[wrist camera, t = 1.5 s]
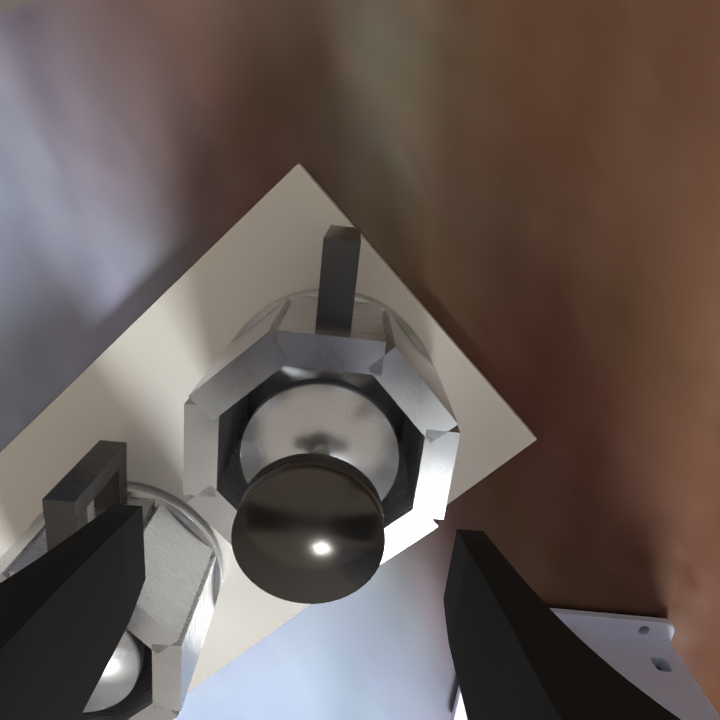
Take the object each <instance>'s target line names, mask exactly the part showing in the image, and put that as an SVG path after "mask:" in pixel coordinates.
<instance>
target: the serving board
mask: <svg viewBox="0 0 720 720" xmlns="http://www.w3.org/2000/svg"><path fill="white" fill-rule="evenodd" d="M330 225H338V226H346V227H355V226H354V225H353V223H352V222H351V221H350V220H349V219H348V218H347V216H346V215H345V214H344V213H343V212H342V211H341V209H340V208H339V207H338V206H337V205H336V204H335V202H334V201H333V200H332V199H331V198H330V197H329V196H328V194H327V193H326V192H325V191H324V190H323V189H322V187H321V186H320V185H319V184H318V183H317V182H316V180H315V179H314V178H313V177H312V176H311V175H310V173H309V172H308V171H307V170H306V169H305V168H304V167H303V165H302V164H299V163H298V164H297V165H296V166H295V167H294V168H293V169H292V170H291V171H290V172H289V173H288V174H287V175H286V176H285V177H284V178H283V179H282V180H281V181H280V182H279V183H277V184H276V185H275V186H274V187H273V188H272V189H271V190H270V191H269V192H268V193H267V194H266V195H265V196H264V197H263V198H262V199H261V200H260V201H259V202H258V203H257V204H256V205H255V206H254V207H253V208H252V209H251V210H250V211H249V212H248V213H247V214H246V215H245V216H243V217H242V218H241V219H240V220H239V221H238V222H237V223H236V224H235V225H234V226H233V227H232V228H231V229H230V230H229V231H228V232H227V233H226V234H225V235H224V236H223V237H222V238H221V239H220V240H219V241H218V242H217V243H216V244H215V245H214V246H213V247H212V248H210V249H209V250H208V251H207V252H206V253H205V254H204V255H203V256H202V257H201V258H200V259H199V260H198V261H197V262H196V263H195V264H194V265H193V266H192V267H191V268H190V269H189V270H188V271H187V272H186V273H185V274H184V275H183V276H182V277H181V278H180V279H179V280H178V281H176V282H175V283H174V284H173V285H172V286H171V287H170V288H169V289H168V290H167V291H166V292H165V293H164V294H163V295H162V296H161V297H160V298H159V299H158V300H157V301H156V302H155V303H154V304H153V305H152V306H151V307H150V308H149V309H148V310H147V311H146V312H145V313H144V314H142V315H141V316H140V317H139V318H138V319H137V320H136V321H135V322H134V323H133V324H132V325H131V326H130V327H129V328H128V329H127V330H126V331H125V332H124V333H123V334H122V335H121V336H120V337H119V338H118V339H117V340H116V341H115V342H114V343H113V344H112V345H111V346H110V347H108V348H107V349H106V350H105V351H104V352H103V353H102V354H101V355H100V356H99V357H98V358H97V359H96V360H95V361H94V362H93V363H92V364H91V365H90V366H89V367H88V368H87V369H86V370H85V371H84V372H83V373H82V374H81V375H80V376H79V377H78V378H77V379H76V380H74V381H73V382H72V383H71V384H70V385H69V386H68V387H67V388H66V389H65V390H64V391H63V392H62V393H61V394H60V395H59V396H58V397H57V398H56V399H55V400H54V401H53V402H52V403H51V404H50V405H49V406H48V407H47V408H46V409H45V410H44V411H43V412H42V413H40V414H39V415H38V416H37V417H36V418H35V419H34V420H33V421H32V422H31V423H30V424H29V425H28V426H27V427H26V428H25V429H24V430H23V431H22V432H21V433H20V434H19V435H18V436H17V437H16V438H15V439H14V440H13V441H12V442H11V443H10V444H9V445H8V446H6V447H5V448H4V449H3V450H2V451H1V452H0V558H1V557H2V555H3V554H4V553H5V552H6V551H7V550H8V549H9V548H10V547H11V546H12V545H13V544H14V543H15V542H16V541H17V539H18V538H19V537H20V536H21V535H22V534H23V533H24V532H25V531H27V530H28V528H29V526H30V525H31V524H32V522H33V521H34V520H35V519H36V517H37V516H38V515H39V514H40V513H41V512H42V511H43V505H42V499H43V498H44V497H45V496H46V495H47V494H48V493H49V492H50V491H51V490H52V489H53V488H54V487H55V486H56V485H57V484H58V482H59V481H60V480H61V479H62V478H63V477H64V476H65V475H66V474H67V473H68V472H69V471H70V470H71V469H72V468H73V467H74V466H75V465H76V464H77V463H78V462H79V461H80V460H81V459H82V458H83V457H84V456H85V455H86V454H87V453H88V452H89V451H90V450H91V449H92V448H93V447H94V446H95V445H96V444H97V443H98V442H99V441H100V440H106V441H116V442H126V443H127V459H126V462H127V481H132V482H139V483H143V484H146V485H150V486H153V487H156V488H158V489H161V490H164V491H166V492H168V493H170V494H172V495H174V496H175V497H177V498H179V499H180V500H182V501H183V502H185V503H186V504H188V503H187V501H188V499H189V497H190V495H183V458H184V404H185V402H186V401H187V400H188V398H189V396H188V395H189V394H190V393H191V392H192V390H193V389H194V388H195V386H196V385H197V384H198V382H199V381H200V380H201V379H202V377H203V376H204V375H205V373H206V372H207V371H208V370H209V368H210V367H211V366H212V364H213V363H214V362H215V360H216V359H217V358H218V357H219V355H220V354H221V353H222V351H223V350H224V349H225V348H226V347H227V346H228V345H229V344H230V343H231V342H232V340H233V339H234V337H235V336H236V335H237V333H238V332H239V331H240V330H241V328H242V327H243V326H244V325H245V324H246V322H247V321H248V320H249V319H251V318H252V317H253V316H254V315H255V314H256V313H257V312H258V311H260V310H261V309H263V308H264V307H266V306H267V305H268V304H270V303H272V302H274V301H276V300H278V299H280V298H282V297H285V296H288V295H291V294H293V293H297V292H301V291H306V290H312V289H319V282H320V271H321V259H322V248H323V238H324V236H325V234H326V232H327V231H328V229H329V227H330ZM355 228H356V227H355ZM355 292H356V293H359V294H363V295H366V296H369V297H371V298H373V299H375V300H377V301H379V302H382V303H383V304H385V305H386V306H388V307H389V308H391V309H393V310H394V311H395V312H397V313H398V314H399V315H400V316H401V317H402V318H404V319H405V320H406V321H407V322H408V323H409V325H410V326H411V327H412V328H413V329H414V330H415V331H416V333H417V334H418V336H419V337H420V339H421V340H422V342H423V344H424V346H425V348H426V350H427V352H428V354H429V356H430V359H431V362H432V365H433V366H434V367H435V369H436V370H437V372H438V375H439V377H440V380H441V382H442V385H443V387H444V390H445V392H446V395H447V397H448V400H449V402H450V405H451V407H452V410H453V412H454V415H455V417H456V420H457V422H458V428H459V431H460V438H459V443H458V448H457V453H456V458H455V463H454V468H453V474H452V479H451V484H450V489H449V494H448V499H447V504H446V505H448V504H449V503H450V502H452V501H453V500H454V499H456V498H457V497H459V496H460V495H461V494H463V493H464V492H465V491H467V490H468V489H470V488H471V487H472V486H474V485H475V484H476V483H478V482H479V481H481V480H482V479H483V478H485V477H486V476H487V475H489V474H490V473H492V472H493V471H494V470H496V469H497V468H499V467H500V466H501V465H503V464H504V463H505V462H507V461H508V460H510V459H511V458H512V457H514V456H515V455H516V454H518V453H519V452H521V451H522V450H523V449H525V448H526V447H527V446H529V445H530V444H532V443H533V442H534V441H536V440H537V439H536V437H535V436H534V435H533V433H532V432H531V430H530V429H529V427H528V426H527V425H526V424H525V423H524V422H523V420H522V419H521V418H520V417H519V416H518V415H517V414H516V412H515V411H514V410H513V409H512V408H511V407H510V405H509V404H508V403H507V402H506V401H505V400H504V398H503V397H502V396H501V395H500V394H499V393H498V391H497V390H496V389H495V388H494V387H493V386H492V385H491V383H490V382H489V381H488V380H487V379H486V378H485V376H484V375H483V374H482V373H481V372H480V371H479V369H478V368H477V367H476V366H475V365H474V364H473V362H472V361H471V360H470V359H469V358H468V357H467V356H466V354H465V353H464V352H463V351H462V350H461V349H460V347H459V346H458V345H457V344H456V343H455V342H454V340H453V339H452V338H451V337H450V336H449V335H448V333H447V332H446V331H445V330H444V329H443V328H442V327H441V325H440V324H439V323H438V322H437V321H436V320H435V318H434V317H433V316H432V315H431V314H430V313H429V311H428V310H427V309H426V308H425V307H424V306H423V305H422V303H421V302H420V301H419V300H418V299H417V298H416V296H415V295H414V294H413V293H412V292H411V291H410V289H409V288H408V287H407V286H406V285H405V284H404V282H403V281H402V280H401V279H400V278H399V277H398V276H397V274H396V273H395V272H394V271H393V270H392V269H391V267H390V266H389V265H388V264H387V263H386V262H385V260H384V259H383V258H382V257H381V256H380V255H379V253H378V252H377V251H376V250H375V249H374V248H373V247H372V245H371V244H370V243H369V242H368V241H367V240H366V238H365V237H364V236H363V235H362V234H361V247H360V255H359V264H358V273H357V281H356V290H355ZM188 505H189V504H188ZM189 506H190V505H189ZM190 507H191V506H190ZM191 508H192V507H191ZM192 509H193V508H192ZM193 510H194V509H193ZM203 520H204V521H205V522H206V523H207V525H208V526H209V527H210V529H211V530H212V532H213V534H214V535H215V537H216V539H217V541H218V544H219V547H220V549H221V553H222V558H223V566H224V574H223V582H222V585H221V589H220V592H219V595H218V598H217V601H216V604H215V606H214V613H213V616H212V619H211V622H210V625H209V628H208V631H207V634H206V637H205V640H204V643H203V646H202V649H201V652H200V655H199V658H198V661H197V664H196V667H195V670H194V673H193V676H192V679H191V682H190V685H189V688H188V691H187V693H188V692H190V691H191V690H192V689H194V688H195V687H197V686H198V685H199V684H201V683H202V682H203V681H205V680H206V679H208V678H209V677H210V676H212V675H213V674H215V673H216V672H217V671H219V670H220V669H221V668H223V667H224V666H226V665H227V664H228V663H230V662H231V661H232V660H234V659H235V658H237V657H238V656H239V655H241V654H242V653H243V652H245V651H246V650H248V649H249V648H250V647H252V646H253V645H255V644H256V643H257V642H259V641H260V640H261V639H263V638H264V637H266V636H267V635H268V634H270V633H271V632H272V631H274V630H275V629H277V628H278V627H279V626H281V625H282V624H283V623H285V622H286V621H288V620H289V619H290V618H292V617H293V616H294V615H296V614H297V613H299V612H300V611H301V610H303V609H304V608H306V607H307V606H308V605H310V604H303V603H295V602H290V601H286V600H283V599H280V598H277V597H274V596H272V595H270V594H268V593H266V592H265V591H263V590H262V589H260V588H259V587H257V586H256V585H255V584H254V583H252V582H251V581H250V580H249V579H248V578H247V576H246V575H245V574H244V573H243V571H242V570H241V569H240V567H239V565H238V563H237V561H236V559H235V556H234V553H233V549H232V545H231V544H230V543H229V542H228V541H227V540H225V539H224V538H223V537H222V536H221V535H220V534H219V533H218V532H217V531H216V530H215V529H214V528H213V527H212V526H211V525H210V524H209V523H208V522H207V521H206V520H205V519H204V518H203Z"/></svg>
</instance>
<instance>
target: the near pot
mask: <svg viewBox="0 0 720 720" xmlns="http://www.w3.org/2000/svg"><path fill="white" fill-rule="evenodd" d="M360 247H361V228H355V227H346V226H338V225H330V227H329V229H328V231H327V232H326V234H325V236H324V238H323V248H322V259H321V271H320V282H319V289H312V290H306V291H301V292H297V293H293V294H291V295H288V296H285V297H282V298H280V299H278V300H276V301H274V302H272V303H270V304H268V305H267V306H266V307H264V308H263V309H261V310H260V311H258V312H257V313H256V314H255V315H254V316H253V317H252V318H251V319H249V320H248V321H247V322H246V324H245V325H244V326H243V327H242V328H241V330H240V331H239V332H238V333H237V335H236V336H235V337H234V339H233V340H232V342H231V343H230V344H229V345H228V346H227V347H226V348H225V349H224V350H223V351H222V353H221V354H220V355H219V357H218V358H217V359H216V360H215V362H214V363H213V364H212V366H211V367H210V368H209V370H208V371H207V372H206V373H205V375H204V376H203V377H202V379H201V380H200V381H199V382H198V384H197V385H196V386H195V388H194V389H193V390H192V392H191V393H190V394H189V395H188V396H189V398H188V400H187V401H186V402H185V404H184V458H183V495H190V497H189V499H188V501H187V503H188V504H189V505H190V506H191V507H192V508H193V509H194V510H195V511H196V512H197V513H198V514H199V515H200V516H201V517H202V518H204V519H205V520H206V521H207V522H208V523H209V524H210V525H211V526H212V527H213V528H214V529H215V530H216V531H217V532H218V533H219V534H220V535H221V536H222V537H223V538H224V539H225V540H227V541H228V542H229V543H230V544H231V532H232V526H233V522H234V519H235V516H236V513H237V510H238V508H239V505H240V502H241V499H242V496H243V494H244V492H245V490H246V487H247V486H248V484H247V482H246V480H245V477H244V474H243V471H242V467H241V461H240V449H241V441H242V438H243V434H244V432H245V429H246V427H247V425H248V423H249V420H250V418H251V416H252V414H253V413H254V411H255V410H256V408H257V407H258V406H259V404H260V403H261V402H262V401H263V400H264V399H265V398H266V397H267V396H269V395H270V394H271V393H273V392H274V391H276V390H277V389H279V388H281V387H283V386H285V385H287V384H290V383H293V382H296V381H299V380H304V379H312V378H327V379H334V380H339V381H343V382H346V383H349V384H351V385H354V386H356V387H358V388H360V389H362V390H363V391H365V392H367V393H368V394H369V395H370V396H372V397H373V398H374V399H375V400H376V401H377V402H378V403H379V404H380V405H381V406H382V407H383V408H384V410H385V411H386V413H387V414H388V416H389V418H390V419H391V421H392V424H393V426H394V429H395V433H396V437H397V443H398V451H399V464H398V470H397V475H396V478H395V480H394V483H393V485H392V487H391V489H390V490H389V492H388V494H387V495H386V496H385V498H384V499H383V500H382V501H381V503H382V507H383V519H384V533H385V549H384V554H383V558H382V560H381V563H380V564H382V563H383V562H385V561H386V560H388V559H390V558H391V557H393V556H394V555H396V554H397V553H399V552H400V551H402V550H403V549H405V548H407V547H408V546H410V545H411V544H413V543H414V542H416V541H417V540H419V539H420V538H422V537H424V536H425V535H427V534H428V533H430V532H431V531H433V530H434V529H436V528H437V527H438V522H437V519H440V520H444V515H445V509H446V504H447V499H448V494H449V489H450V484H451V479H452V474H453V468H454V463H455V458H456V453H457V448H458V443H459V438H460V431H459V428H458V422H457V420H456V417H455V415H454V412H453V410H452V407H451V405H450V402H449V400H448V397H447V395H446V392H445V390H444V387H443V385H442V382H441V380H440V377H439V375H438V372H437V370H436V369H435V367H434V366H433V365H432V362H431V359H430V356H429V354H428V352H427V350H426V348H425V346H424V344H423V342H422V340H421V339H420V337H419V336H418V334H417V333H416V331H415V330H414V329H413V328H412V327H411V326H410V325H409V323H408V322H407V321H406V320H405V319H404V318H402V317H401V316H400V315H399V314H398V313H397V312H395V311H394V310H393V309H391V308H389V307H388V306H386V305H385V304H383V303H382V302H379V301H377V300H375V299H373V298H371V297H369V296H366V295H363V294H359V293H356V292H355V290H356V281H357V273H358V264H359V255H360ZM231 545H232V544H231Z"/></svg>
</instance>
